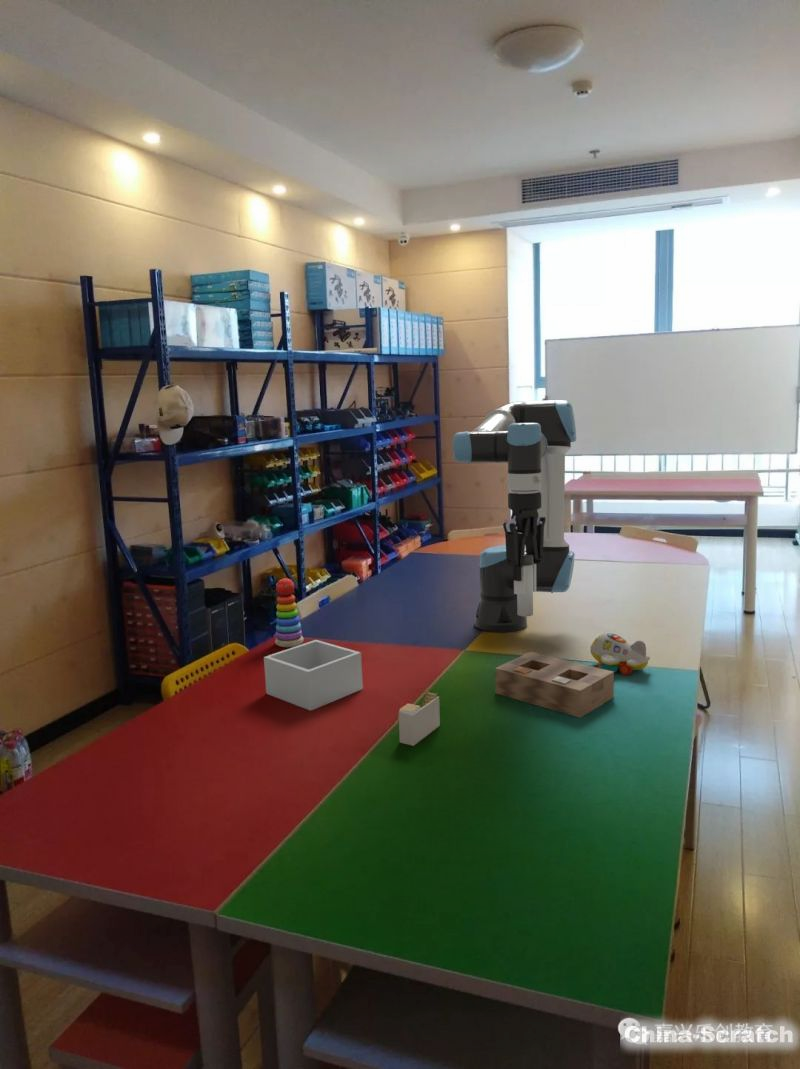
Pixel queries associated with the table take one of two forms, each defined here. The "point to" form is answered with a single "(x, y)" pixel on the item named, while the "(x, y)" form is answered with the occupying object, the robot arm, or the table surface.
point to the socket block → (555, 683)
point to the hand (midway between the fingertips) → (525, 592)
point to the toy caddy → (313, 674)
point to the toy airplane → (619, 653)
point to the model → (419, 720)
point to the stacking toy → (287, 616)
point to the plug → (526, 600)
